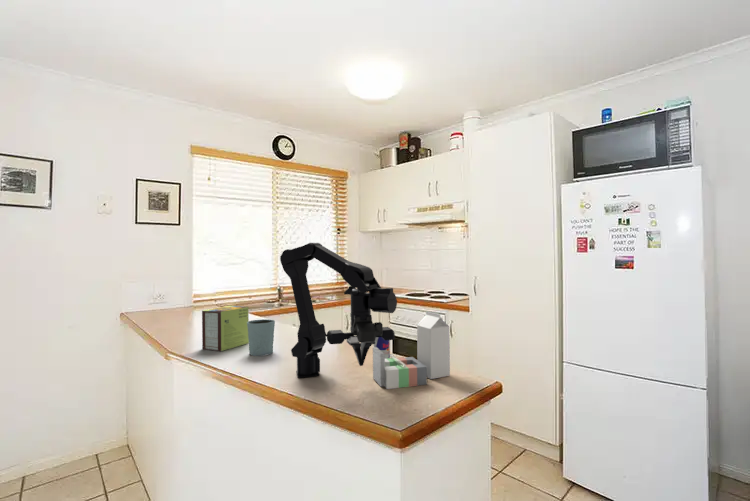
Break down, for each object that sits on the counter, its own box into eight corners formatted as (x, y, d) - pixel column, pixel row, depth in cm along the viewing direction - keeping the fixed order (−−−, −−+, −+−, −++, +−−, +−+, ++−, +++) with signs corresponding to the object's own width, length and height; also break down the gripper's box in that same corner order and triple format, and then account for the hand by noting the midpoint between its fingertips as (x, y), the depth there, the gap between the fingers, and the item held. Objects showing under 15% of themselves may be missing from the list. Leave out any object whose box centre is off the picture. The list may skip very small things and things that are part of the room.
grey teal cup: (246, 357, 140) (245, 324, 141) (248, 350, 150) (248, 319, 150) (274, 355, 143) (274, 322, 143) (275, 348, 153) (275, 318, 153)
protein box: (249, 343, 163) (249, 306, 163) (221, 351, 149) (220, 311, 149) (230, 341, 167) (230, 305, 167) (201, 349, 153) (201, 310, 153)
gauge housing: (386, 389, 106) (386, 370, 106) (375, 376, 117) (375, 359, 117) (427, 384, 109) (426, 366, 109) (412, 372, 120) (412, 356, 120)
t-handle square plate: (383, 389, 105) (382, 356, 105) (371, 375, 117) (370, 345, 117) (414, 385, 108) (414, 353, 108) (399, 372, 120) (399, 343, 120)
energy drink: (388, 367, 126) (388, 330, 126) (372, 366, 127) (372, 330, 127) (390, 362, 131) (390, 327, 132) (375, 362, 133) (375, 327, 133)
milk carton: (430, 379, 113) (430, 315, 114) (417, 373, 120) (416, 312, 120) (450, 376, 117) (449, 313, 117) (436, 369, 123) (435, 310, 123)
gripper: (333, 316, 100) (333, 377, 100) (401, 313, 105) (401, 370, 105) (326, 310, 110) (326, 365, 110) (388, 307, 116) (388, 359, 116)
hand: (361, 365), depth 110 cm, fingers closed
